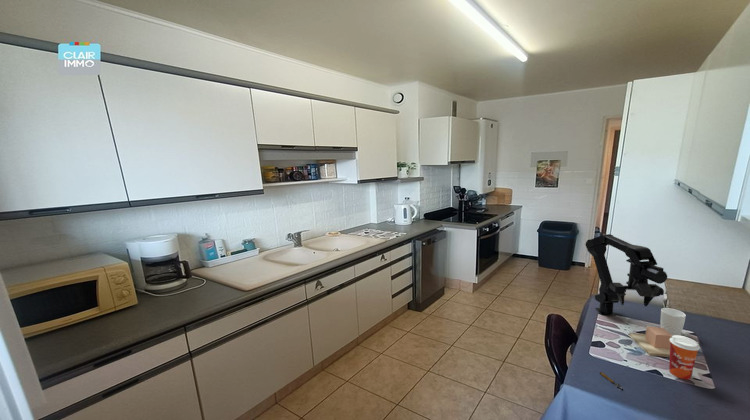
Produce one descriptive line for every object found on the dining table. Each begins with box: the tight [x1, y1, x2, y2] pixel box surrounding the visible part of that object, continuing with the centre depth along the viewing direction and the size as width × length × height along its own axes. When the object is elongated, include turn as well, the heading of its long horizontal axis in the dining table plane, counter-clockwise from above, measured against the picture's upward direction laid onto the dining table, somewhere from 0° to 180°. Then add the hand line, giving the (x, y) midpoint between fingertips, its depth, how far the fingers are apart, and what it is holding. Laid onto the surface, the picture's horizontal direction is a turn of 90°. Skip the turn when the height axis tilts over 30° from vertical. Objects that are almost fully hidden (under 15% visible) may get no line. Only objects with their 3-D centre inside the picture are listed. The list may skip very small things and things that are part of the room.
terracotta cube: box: [645, 326, 673, 349], centre depth 125 cm, size 6×6×6 cm
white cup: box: [660, 307, 687, 336], centre depth 134 cm, size 8×8×10 cm
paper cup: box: [668, 335, 701, 380], centre depth 109 cm, size 8×8×14 cm
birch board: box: [628, 332, 670, 358], centre depth 126 cm, size 14×14×1 cm
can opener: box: [599, 371, 624, 390], centre depth 108 cm, size 9×2×1 cm, turn 4°
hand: (633, 305), depth 137 cm, fingers open, 9 cm apart
